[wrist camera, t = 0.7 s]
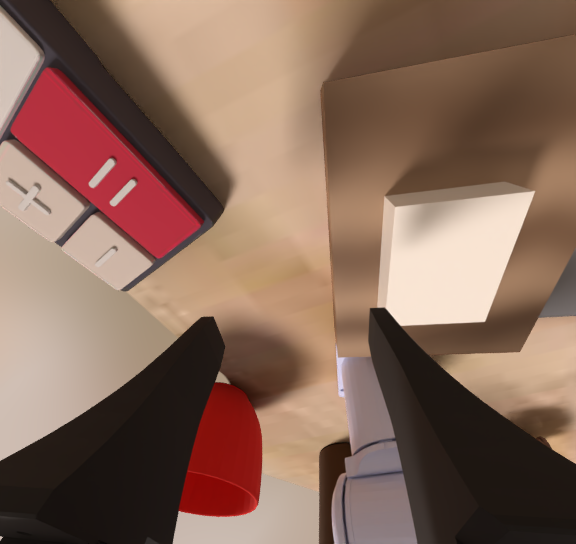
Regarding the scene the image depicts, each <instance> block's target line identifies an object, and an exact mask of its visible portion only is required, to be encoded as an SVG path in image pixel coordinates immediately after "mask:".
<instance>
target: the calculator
mask: <svg viewBox="0 0 576 544" xmlns="http://www.w3.org/2000/svg"><path fill="white" fill-rule="evenodd" d="M0 206H1V207H3V208H4V209H5V210H7V211H8V212H9V213H11V214H12V215H14V216H15V217H16V218H18V219H19V220H20V221H22V222H23V223H24V224H26V225H27V226H29V227H30V228H31V229H33V230H34V231H36V232H37V233H38V234H40V235H41V236H43V237H44V238H45V239H47V240H49V241H50V242H55V243H57V244H58V245H59V246H61V247H62V250H63V251H64V252H65V253H66V254H67V255H69V256H70V257H72V258H73V259H74V260H76V261H77V262H79V263H80V264H81V265H83V266H84V267H85V268H87V269H88V270H89V271H91V272H92V273H94V274H95V275H97V276H98V277H99V278H101V279H102V280H103V281H105V282H106V283H107V284H109V285H110V286H112V287H113V288H115V289H116V290H122V291H128V290H130V289H131V288H133V287H134V286H135V285H137V284H138V283H139V282H140V281H142V280H143V279H144V278H146V277H147V276H148V275H150V274H151V273H152V272H154V271H155V270H156V269H158V268H159V267H160V266H162V265H163V264H164V263H166V262H167V261H168V260H169V259H171V258H172V257H173V256H175V255H176V254H177V253H179V252H180V251H181V250H183V249H184V248H185V247H187V246H188V245H189V244H191V243H192V242H193V241H195V240H196V239H197V238H198V237H200V236H201V235H202V234H204V233H205V232H206V231H208V230H209V229H210V228H211V227H213V225H214V224H215V223H216V221H217V220H218V219H219V217H220V216H221V215H222V213H223V211H224V208H223V206H222V205H221V203H220V202H219V201H218V200H217V199H216V197H215V196H214V195H213V194H212V193H211V192H210V190H209V189H208V188H207V187H206V186H205V184H204V183H203V182H202V181H201V180H200V178H199V177H198V176H197V175H196V174H195V173H194V171H193V170H192V169H191V168H190V167H189V165H188V164H187V163H186V162H185V161H184V160H183V158H182V157H181V156H180V155H179V154H178V153H177V151H176V150H175V149H174V148H173V147H172V146H171V145H170V143H169V142H168V141H167V140H166V139H165V138H164V137H163V135H162V134H161V133H160V132H159V131H158V130H157V129H156V127H155V126H154V125H153V124H152V123H151V122H150V121H149V119H148V118H147V117H146V116H145V115H144V114H143V113H142V111H141V110H140V109H139V108H138V107H137V106H136V104H135V103H134V102H133V101H132V100H131V99H130V98H129V96H128V95H127V94H126V93H125V92H124V91H123V90H122V88H121V87H120V86H119V85H118V84H117V83H116V82H115V80H114V79H113V78H112V77H111V76H110V75H109V74H108V72H107V71H106V70H105V69H104V68H103V66H102V65H101V63H100V61H99V59H98V57H97V56H96V55H95V53H94V52H93V51H92V50H91V49H90V47H89V46H88V45H87V44H86V43H85V41H84V40H83V39H82V38H81V37H80V36H79V34H78V33H77V32H76V31H75V30H74V28H73V27H72V26H71V25H70V24H69V22H68V21H67V20H66V19H65V18H64V16H63V15H62V14H61V13H60V12H59V11H58V9H57V8H56V7H55V6H54V5H53V3H52V2H51V1H50V0H0Z"/></svg>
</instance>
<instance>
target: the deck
mask: <svg viewBox="0 0 576 544" xmlns="http://www.w3.org/2000/svg"><path fill="white" fill-rule="evenodd" d="M320 91H321V108H322V125H323V142H324V159H325V176H326V192H327V209H328V226H329V243H330V260H331V276H332V293H333V310H334V327H335V336H336V344H337V353H338V358H341V357H371V353H370V348H369V343H368V334H369V313H370V308H378V307H377V303H378V287H379V272H380V256H381V241H382V225H383V210H384V196H389V195H398V194H406V193H414V192H423V191H431V190H439V189H448V188H456V187H464V186H472V185H481V184H489V183H497V182H508V183H511V184H514V185H517V186H521V187H524V188H527V189H530V190H533V191H535V193H534V196H533V198H532V201H531V204H530V206H529V209H528V211H527V214H526V217H525V219H524V222H523V224H522V227H521V230H520V232H519V235H518V237H517V240H516V243H515V245H514V248H513V250H512V253H511V256H510V258H509V261H508V263H507V266H506V269H505V271H504V274H503V276H502V279H501V282H500V284H499V287H498V289H497V292H496V295H495V297H494V300H493V302H492V305H491V308H490V310H489V313H488V315H487V318H486V321H485V322H471V323H450V324H429V325H407V326H401V327H402V328H403V329H404V330H405V331H406V332H407V333H408V335H409V336H410V337H411V338H412V339H413V340H414V341H415V342H416V343H417V344H418V345H419V346H420V347H421V348H422V349H423V350H424V351H425V352H426V353H427V354H428V355H440V354H474V353H507V352H520V351H521V349H522V347H523V345H524V343H525V342H526V340H527V338H528V336H529V334H530V332H531V330H532V328H533V327H534V325H535V323H536V321H537V319H538V317H539V315H540V314H541V312H542V310H543V308H544V306H545V304H546V302H547V300H548V299H549V297H550V295H551V293H552V291H553V289H554V287H555V285H556V284H557V282H558V280H559V278H560V276H561V274H562V272H563V271H564V269H565V267H566V265H567V263H568V261H569V259H570V257H571V256H572V254H573V252H574V250H575V248H576V34H574V35H568V36H563V37H558V38H553V39H548V40H542V41H537V42H532V43H527V44H521V45H516V46H511V47H506V48H501V49H495V50H490V51H485V52H480V53H474V54H469V55H464V56H459V57H454V58H448V59H443V60H438V61H433V62H427V63H422V64H417V65H412V66H407V67H401V68H396V69H391V70H386V71H380V72H375V73H370V74H365V75H360V76H354V77H349V78H344V79H339V80H333V81H328V82H323V85H322V88H321V90H320Z"/></svg>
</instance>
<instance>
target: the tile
mask: <svg viewBox="0 0 576 544" xmlns="http://www.w3.org/2000/svg"><path fill="white" fill-rule="evenodd" d="M534 193H535V191H533V190H530V189H527V188H524V187H521V186H517V185H514V184H511V183H508V182H497V183H489V184H481V185H472V186H464V187H456V188H448V189H439V190H431V191H423V192H414V193H406V194H398V195H389V196H384V210H383V225H382V241H381V256H380V272H379V287H378V303H377V307H378V308H382V307H385V308H386V309H387V310H388V311H389V313H390V314H391V315H392V316H393V317H394V319H395V320H396V321H397V322H398V323H399V325H400V326H407V325H429V324H450V323H471V322H485V321H486V318H487V315H488V313H489V310H490V308H491V305H492V302H493V300H494V297H495V295H496V292H497V289H498V287H499V284H500V282H501V279H502V276H503V274H504V271H505V269H506V266H507V263H508V261H509V258H510V256H511V253H512V250H513V248H514V245H515V243H516V240H517V237H518V235H519V232H520V230H521V227H522V224H523V222H524V219H525V217H526V214H527V211H528V209H529V206H530V204H531V201H532V198H533V196H534Z"/></svg>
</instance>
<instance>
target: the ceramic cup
mask: <svg viewBox="0 0 576 544" xmlns="http://www.w3.org/2000/svg"><path fill="white" fill-rule="evenodd" d="M261 473H262V435H261V428H260V424H259V421H258V418H257V415H256V413H255V410H254V408H253V406H252V404H251V403H250V401H249V400H248V397H247V395H246V394H245V393H244V392H243V391H242V390H241V389H239V388H237V387H235V386H233V385H230V384H226V383H220V382H219V383H218V382H215V383H214V386H213V388H212V391H211V394H210V396H209V399H208V402H207V404H206V407H205V410H204V412H203V415H202V418H201V421H200V424H199V428H198V431H197V435H196V439H195V442H194V446H193V450H192V454H191V458H190V462H189V466H188V470H187V474H186V479H185V483H184V488H183V492H182V497H181V502H180V506H179V511H181V512H185V513H191V514H197V515H205V516H216V517H220V516H222V517H227V516H228V517H229V516H239V515H244V514H247V513H250V512H252V511H253V510H255V509H256V507H257V505H258V501H259V495H260V486H261Z"/></svg>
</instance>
